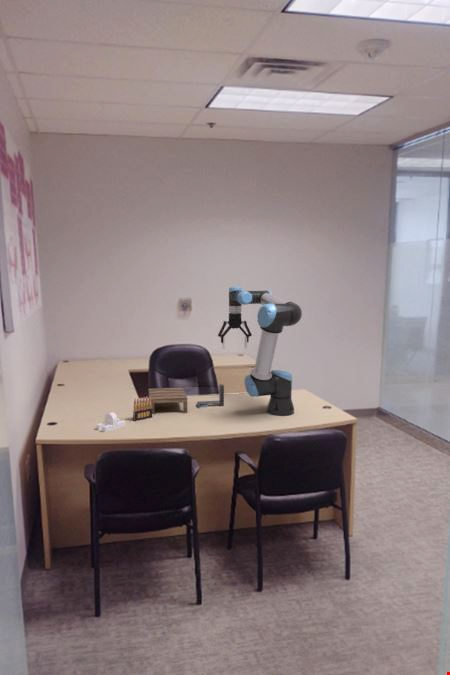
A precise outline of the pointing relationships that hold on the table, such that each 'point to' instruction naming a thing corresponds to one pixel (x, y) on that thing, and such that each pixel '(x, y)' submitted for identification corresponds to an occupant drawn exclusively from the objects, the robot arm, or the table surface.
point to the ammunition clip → (142, 409)
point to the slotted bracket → (110, 423)
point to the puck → (203, 405)
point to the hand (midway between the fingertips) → (234, 348)
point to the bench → (168, 396)
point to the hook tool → (220, 401)
